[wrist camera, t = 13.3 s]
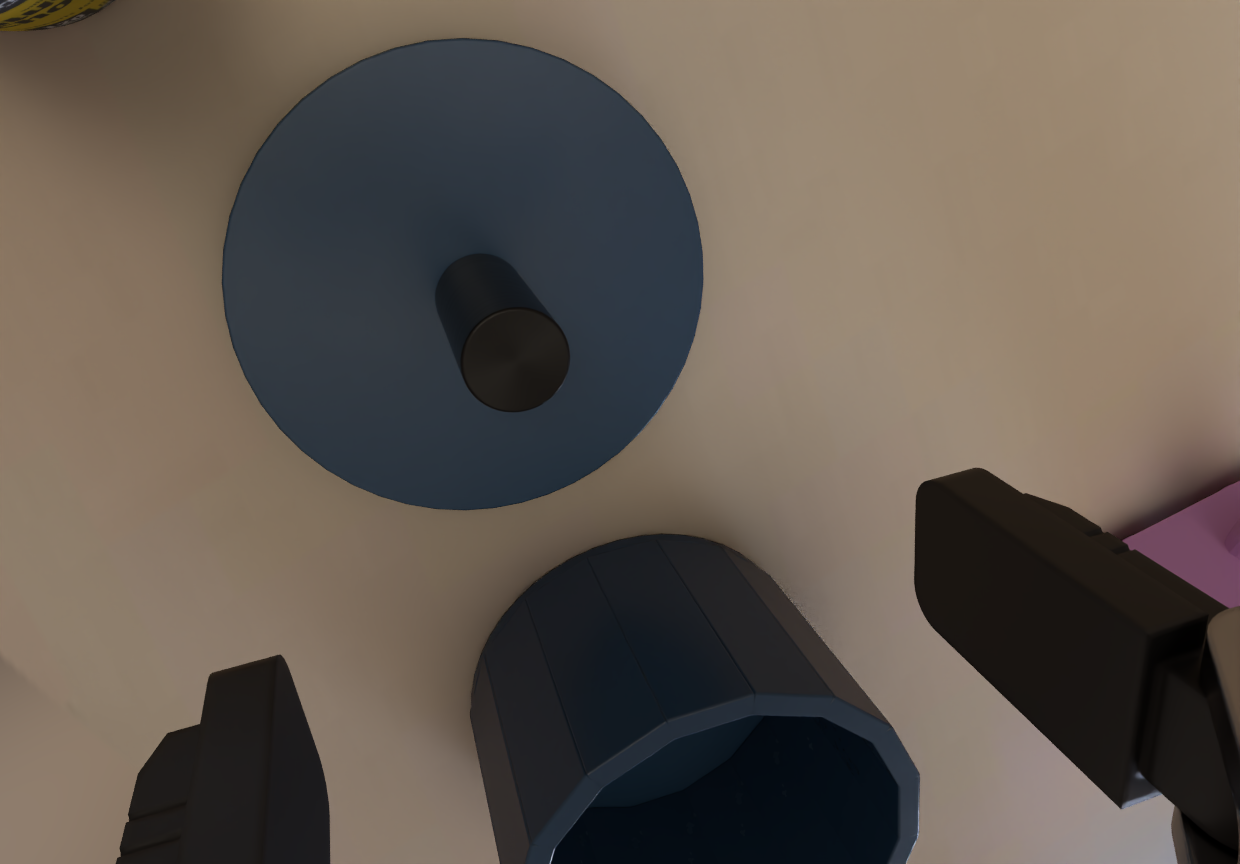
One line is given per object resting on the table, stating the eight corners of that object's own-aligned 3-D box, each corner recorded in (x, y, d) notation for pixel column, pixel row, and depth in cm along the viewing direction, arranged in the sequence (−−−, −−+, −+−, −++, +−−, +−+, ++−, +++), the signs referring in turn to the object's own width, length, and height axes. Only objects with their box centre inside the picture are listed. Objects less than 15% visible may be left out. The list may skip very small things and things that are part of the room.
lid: (302, 540, 27) (295, 678, 21) (154, 79, 22) (89, 95, 16) (708, 439, 30) (800, 538, 24) (667, 5, 24) (773, -4, 18)
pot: (504, 850, 34) (553, 1081, 26) (437, 587, 29) (475, 779, 21) (796, 755, 36) (918, 942, 29) (781, 496, 31) (923, 641, 24)
